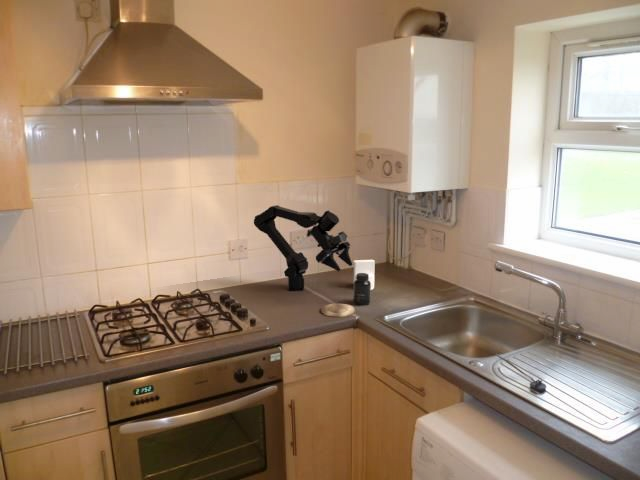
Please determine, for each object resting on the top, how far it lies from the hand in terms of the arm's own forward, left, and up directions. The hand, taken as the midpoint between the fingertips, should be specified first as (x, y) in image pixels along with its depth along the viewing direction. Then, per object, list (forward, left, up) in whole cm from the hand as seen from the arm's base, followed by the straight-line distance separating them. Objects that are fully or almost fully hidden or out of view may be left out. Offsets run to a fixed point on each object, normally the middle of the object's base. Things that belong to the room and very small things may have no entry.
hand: (345, 268), depth 219 cm
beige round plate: (-5, -13, -13) cm, 19 cm away
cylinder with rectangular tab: (+11, +15, -14) cm, 23 cm away
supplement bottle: (+6, -5, -14) cm, 16 cm away
